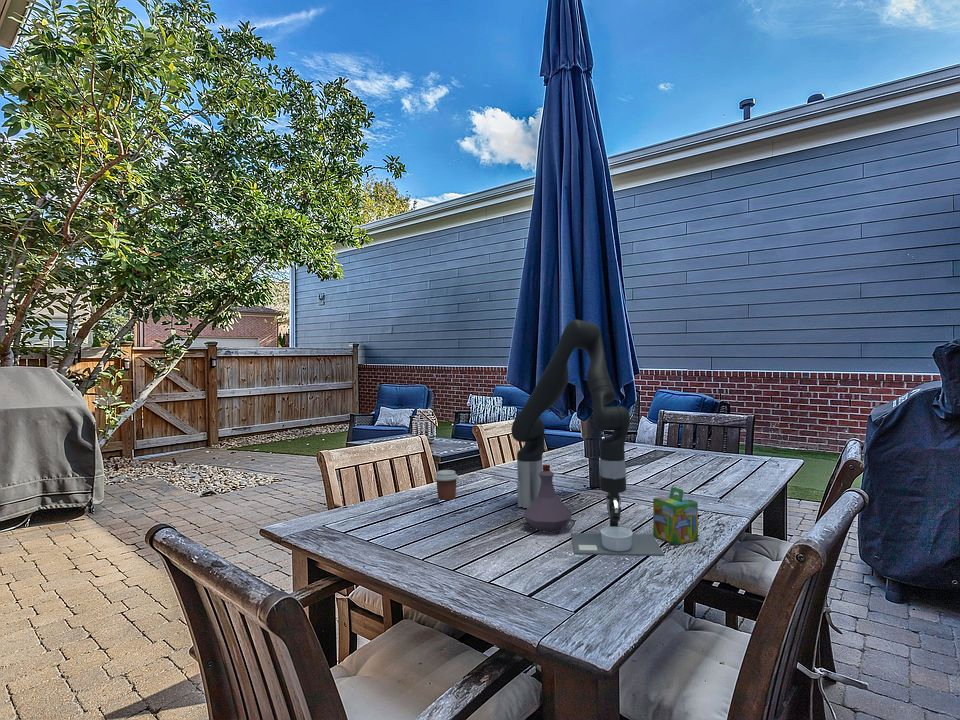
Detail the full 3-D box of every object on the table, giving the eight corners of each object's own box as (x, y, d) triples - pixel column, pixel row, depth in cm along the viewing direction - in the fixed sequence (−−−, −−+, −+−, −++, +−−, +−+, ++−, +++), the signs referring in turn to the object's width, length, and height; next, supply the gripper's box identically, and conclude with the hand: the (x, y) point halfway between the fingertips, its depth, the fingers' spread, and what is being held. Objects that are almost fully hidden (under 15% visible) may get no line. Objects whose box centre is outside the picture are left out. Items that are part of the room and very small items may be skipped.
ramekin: (624, 555, 137) (624, 539, 137) (595, 547, 143) (594, 532, 143) (638, 545, 144) (638, 530, 144) (609, 539, 149) (609, 524, 149)
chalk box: (652, 536, 152) (651, 487, 152) (676, 531, 156) (674, 483, 156) (675, 546, 144) (674, 494, 144) (699, 541, 147) (698, 490, 147)
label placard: (574, 554, 140) (574, 552, 140) (571, 534, 155) (571, 533, 155) (664, 555, 137) (664, 554, 137) (651, 535, 153) (651, 534, 153)
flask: (529, 538, 153) (527, 472, 153) (517, 521, 169) (515, 461, 169) (581, 534, 155) (579, 469, 156) (564, 518, 172) (562, 459, 172)
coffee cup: (430, 503, 194) (429, 472, 194) (448, 498, 200) (448, 468, 200) (444, 508, 187) (444, 475, 187) (463, 503, 193) (462, 471, 193)
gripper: (597, 469, 156) (598, 525, 156) (602, 479, 143) (604, 540, 143) (622, 469, 155) (623, 525, 156) (629, 479, 142) (631, 541, 142)
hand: (614, 532), depth 149 cm, fingers closed
